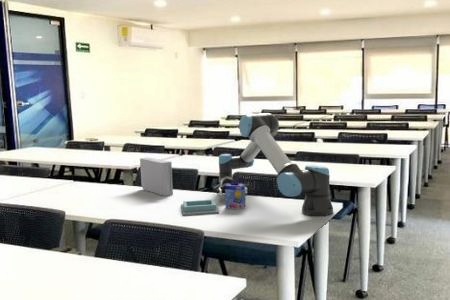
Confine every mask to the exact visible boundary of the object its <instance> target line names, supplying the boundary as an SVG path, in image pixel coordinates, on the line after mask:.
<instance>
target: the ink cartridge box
mask: <svg viewBox="0 0 450 300" xmlns="http://www.w3.org/2000/svg"><path fill="white" fill-rule="evenodd" d="M232 182H235V183H232ZM238 182H239V181H238V180H234V181H231V184H226V185H225V191H224V200H225V209H241V210H242V209H245V208H246V193H245V185H246V184H245V183H242V184H239V183H238Z"/></svg>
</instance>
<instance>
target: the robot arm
mask: <svg viewBox="0 0 450 300" xmlns="http://www.w3.org/2000/svg"><path fill="white" fill-rule="evenodd" d="M279 122H280V121H279V120H278V118H277V117H276V116H275V115H274V114H273V113H271V112H270V113H269V112H263V113H262V112H260V113H247V114H244V115H242V116H241V118H240V120H239V124H238V125H239V127H238V128H239V132H240V135H241V136H242V137H244V138H247V137H248V138H249V140H250V141H249V143H248V144H247V146H246V147H245V148H244V150H243V152H241V154H240V155H238V156H237V155H236V156H234V155H232V154H231V153H221V154H219V155H218V170H219V172H218V173H219V177H218V184H217V185H215V186H214V187H212V193H216V194H217V195H219V196H223V192H225V185H226V184H231V181H235V180H234V179H233V170H237V169H238V170H239V169H246V168H251V167H253V165H254V163H255V158H256V157H257V155H258V154H259V153H260V151H261V152H262V154H263V155H264V156H265V158H266V159H267V160H268V162H269V163H270V164H271V166H272V167H273V169H274V171H275V172H276V174H277V176H276V185H277V189H278V190H279V192H280V193H281V194H282V195H284V196H285V197H288V198H289V197H298V196H301V195H305V197H304V200H303V204H302V206H301V213H302V214H304V215H308V216H316V217H323V216H329V215H332V214H333V213H334V207H333V205H332V200H331V198H330V178H331V177H330V169H329V168H328V167H326V166H323V165H313V164H311V165H305V166H304V169H300V167H299V165H298V164H297V163H292V162H291V159H290V158H289V157H288V156H287V154H286V153H285V152H284V150H283V149H282V148H281V146H280V145H279V144H278V143H277V141H276V140H275V138H274V137H275V136H276V135H277V133H278V132H279V128H280V123H279ZM232 183H236V182H232ZM238 184H243V183H242V182H239V183H238ZM250 190H251V186H250V185H249V184H245V195H247V194H248V192H249V191H250Z"/></svg>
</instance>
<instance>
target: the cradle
mask: <svg viewBox="0 0 450 300" xmlns="http://www.w3.org/2000/svg"><path fill="white" fill-rule="evenodd" d="M182 202H183V203H182V204H180V207H181V212H182V216H183V217H186V216H187V217H188V216H200V215H201V216H202V215H215V214H220V210H219V209H218V206H217V204H216V202H215V200H214V199H203V200H202V199H199V200H187V201H184V200H183V201H182Z"/></svg>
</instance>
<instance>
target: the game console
mask: <svg viewBox="0 0 450 300" xmlns="http://www.w3.org/2000/svg"><path fill="white" fill-rule="evenodd" d="M139 163H140V164H139V165H140V180H141V182H140V183H141V188H142V189H144V190H143V191H146V190H147V192H149V191H150V193H153V192H154V193H153V194H156V193H157V195H161V196H164V197H167V195H168V196H172V194H173V195H174V191H173V190H174V189H173V188H174V186H173V168H172V166H173V165H172V161H169V160H164V159H160V158H159V159H158V158H152V157H147V156H146V157H141V158H139Z"/></svg>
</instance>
